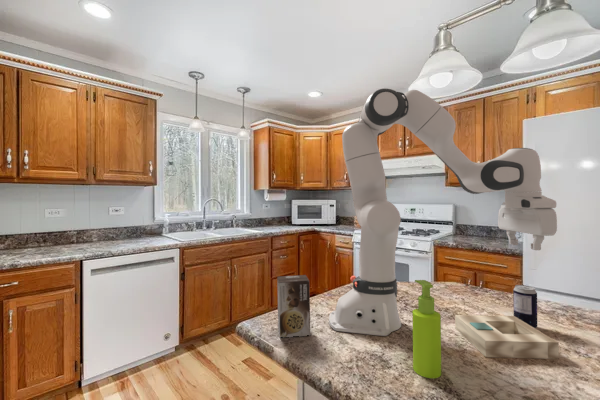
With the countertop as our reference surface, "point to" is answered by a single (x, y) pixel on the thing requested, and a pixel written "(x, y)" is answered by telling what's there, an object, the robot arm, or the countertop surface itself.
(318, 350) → the countertop surface
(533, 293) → the beverage can
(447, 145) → the robot arm
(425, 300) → the soap dispenser
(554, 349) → the socket board
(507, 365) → the countertop surface
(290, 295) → the grey cardboard box
